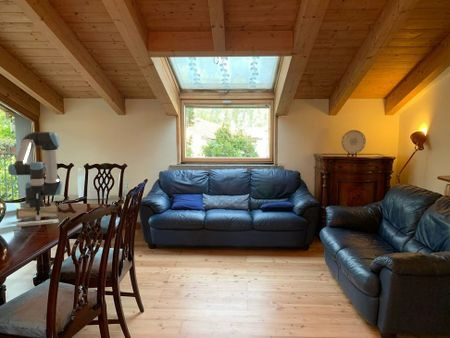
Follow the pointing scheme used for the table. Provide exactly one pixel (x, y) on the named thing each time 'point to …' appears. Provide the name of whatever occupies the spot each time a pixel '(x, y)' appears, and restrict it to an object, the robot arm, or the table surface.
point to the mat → (37, 222)
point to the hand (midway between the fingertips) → (38, 218)
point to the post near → (27, 207)
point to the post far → (52, 205)
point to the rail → (31, 213)
